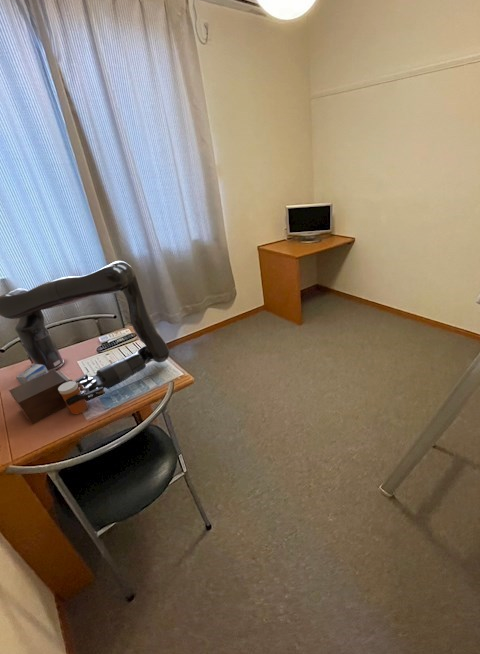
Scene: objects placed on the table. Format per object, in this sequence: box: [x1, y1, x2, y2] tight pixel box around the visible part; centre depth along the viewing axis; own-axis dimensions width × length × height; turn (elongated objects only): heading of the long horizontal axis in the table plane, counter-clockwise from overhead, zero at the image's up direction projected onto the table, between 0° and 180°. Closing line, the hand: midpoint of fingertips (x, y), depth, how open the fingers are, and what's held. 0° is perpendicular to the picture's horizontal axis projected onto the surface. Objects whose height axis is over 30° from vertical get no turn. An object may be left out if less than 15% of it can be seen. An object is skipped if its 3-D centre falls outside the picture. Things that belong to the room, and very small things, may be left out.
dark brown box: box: [8, 370, 68, 425], centre depth 112 cm, size 14×11×9 cm
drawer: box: [56, 370, 74, 382], centre depth 114 cm, size 14×9×7 cm
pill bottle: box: [58, 380, 89, 415], centre depth 109 cm, size 5×5×10 cm
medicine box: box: [15, 364, 48, 385], centre depth 121 cm, size 8×4×9 cm, turn 168°
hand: (63, 399), depth 107 cm, fingers closed on pill bottle, 5 cm apart
